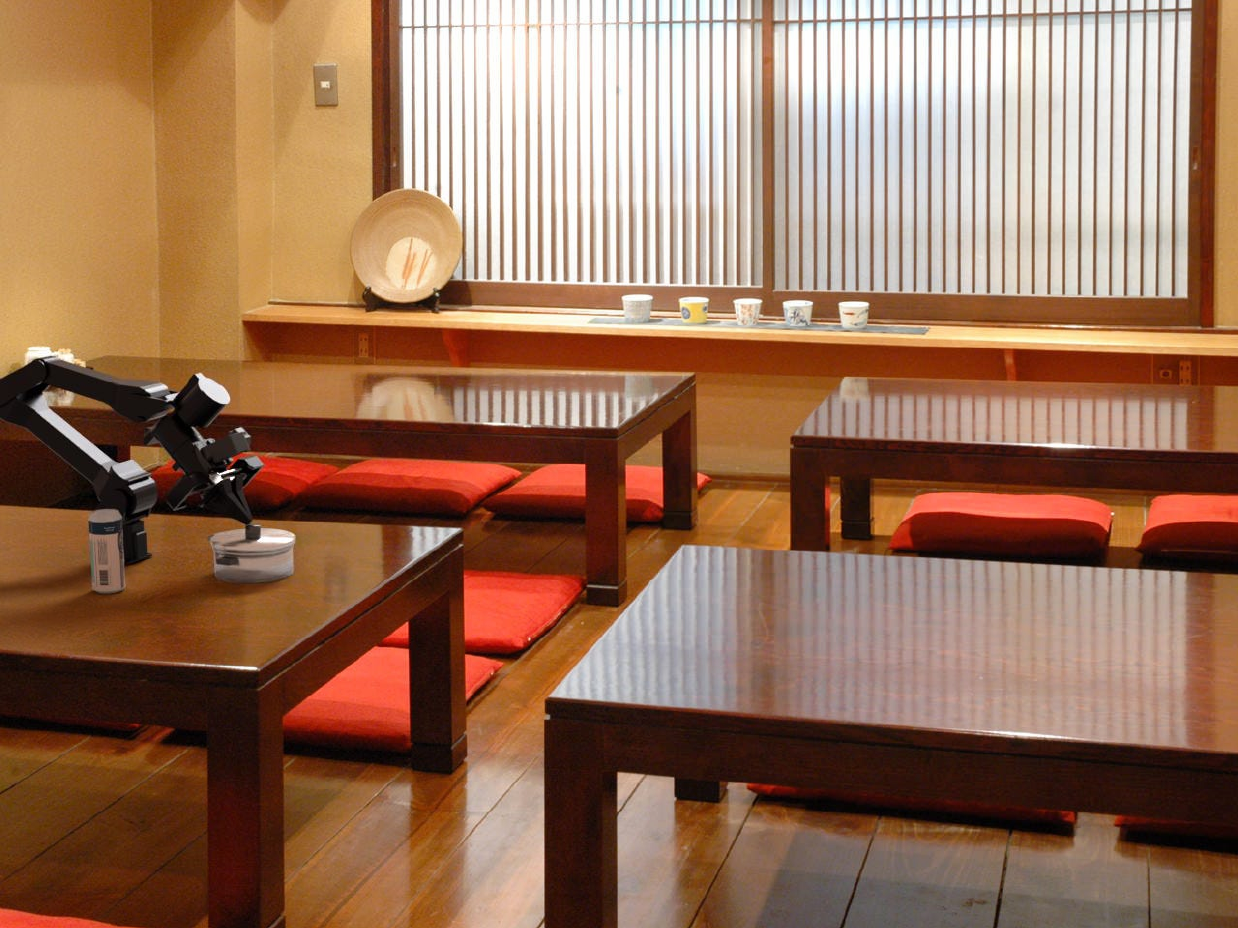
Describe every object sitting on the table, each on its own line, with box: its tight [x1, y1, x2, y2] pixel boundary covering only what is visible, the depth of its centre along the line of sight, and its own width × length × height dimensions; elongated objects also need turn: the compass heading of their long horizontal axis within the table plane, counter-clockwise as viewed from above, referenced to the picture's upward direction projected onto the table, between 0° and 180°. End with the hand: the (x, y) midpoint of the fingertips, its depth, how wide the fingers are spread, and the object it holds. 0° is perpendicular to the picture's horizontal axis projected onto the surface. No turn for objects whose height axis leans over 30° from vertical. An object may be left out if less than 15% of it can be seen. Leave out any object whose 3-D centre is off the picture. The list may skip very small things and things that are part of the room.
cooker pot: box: [211, 543, 295, 584], centre depth 247 cm, size 12×16×5 cm
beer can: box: [87, 509, 126, 595], centre depth 236 cm, size 5×5×12 cm
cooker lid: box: [206, 522, 296, 553], centre depth 246 cm, size 14×13×3 cm
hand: (249, 522), depth 246 cm, fingers closed
